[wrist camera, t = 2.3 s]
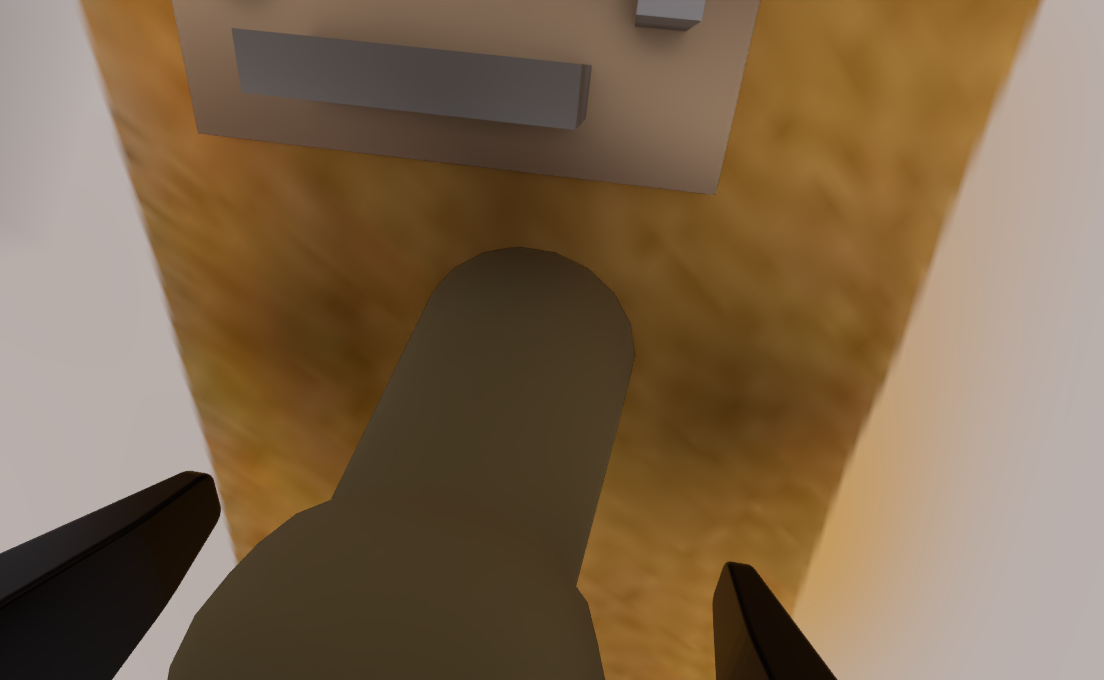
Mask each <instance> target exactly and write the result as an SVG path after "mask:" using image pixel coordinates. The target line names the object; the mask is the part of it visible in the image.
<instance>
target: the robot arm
mask: <svg viewBox="0 0 1104 680" xmlns="http://www.w3.org/2000/svg"><path fill="white" fill-rule="evenodd" d="M220 513H221V506H220V502H219V498H218V494H217V491H216V487H215V483H214V480H213V478H212V476H211V475H209V474H206V473H201V472H194V471H185V472H182V473H179V474H177V475H175V476H173V477H171V478H168V479H166V480H164V481H162V482H159V483H157V484H155V485H152V486H150V487H148V488H146V489H144V490H141V491H139V492H137V493H135V494H132V495H130V496H128V497H126V498H123V499H121V500H119V501H117V502H115V503H112V504H110V505H108V506H106V507H103V508H101V509H99V510H97V511H94V512H92V513H90V514H88V515H86V516H83V517H81V518H79V519H76V520H74V521H72V522H70V523H67V524H65V525H63V526H61V527H59V528H56V529H54V530H52V531H50V532H47V533H45V534H43V535H41V536H38V537H36V538H34V539H32V540H30V541H27V542H25V543H23V544H20V545H18V546H16V547H14V548H11V549H9V550H7V551H5V552H2V553H0V680H112V679H113V678H114V676H115V675H116V674H117V672H118V671H119V669H120V668H121V667H122V665H123V664H124V663H125V661H126V660H127V659H128V657H129V656H130V654H131V653H132V651H133V650H134V649H135V648H136V646H137V645H138V644H139V642H140V641H141V640H142V638H143V637H144V635H145V634H146V633H147V631H148V630H149V629H150V627H151V626H152V624H153V623H154V622H155V620H156V619H157V618H158V616H159V615H160V613H161V612H162V611H163V609H164V608H165V606H166V605H167V603H168V602H169V600H170V598H171V597H172V595H173V594H174V593H175V591H176V590H177V588H178V586H179V585H180V583H181V581H182V580H183V578H184V576H185V575H186V573H187V571H188V570H189V568H190V567H191V565H192V563H193V562H194V560H195V558H196V557H197V555H198V553H199V552H200V550H201V548H202V547H203V545H204V543H205V542H206V540H207V538H208V537H209V535H210V534H211V532H212V530H213V529H214V527H215V525H216V524H217V522H218V519H219V517H220ZM713 627H714V646H715V666H716V680H837V678H836V677H835V676H834V674H833V673H832V672H831V670H830V669H829V668H828V666H827V665H826V664H825V662H824V661H823V660H822V658H821V657H820V656H819V654H818V653H817V652H816V650H815V649H814V648H813V647H812V645H811V644H810V642H809V641H808V640H807V638H806V637H805V636H804V634H803V633H802V632H801V631H800V629H799V628H798V626H797V625H796V623H795V622H794V621H793V619H792V618H791V617H790V615H789V614H788V613H787V611H786V610H785V609H784V607H783V606H782V605H781V603H780V602H779V601H778V599H777V598H776V597H775V595H774V594H773V593H772V591H771V590H770V589H769V587H768V586H767V585H766V583H765V582H764V581H763V579H762V578H761V577H760V575H759V574H758V573H757V571H756V570H755V569H754V568H753V567H752V566H750V565H748V564H742V563H736V562H731V561H730V562H726V563H725V565H724V566H723V569H722V572H721V575H720V578H719V581H718V583H717V586H716V589H715V592H714V596H713Z"/></svg>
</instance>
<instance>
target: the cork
mask: <svg viewBox="0 0 1104 680" xmlns="http://www.w3.org/2000/svg"><path fill="white" fill-rule="evenodd" d="M634 356H635V352H634V345H633V338H632V332H631V325H630V322H629V320H628V318H627V316H626V314H625V313H624V311H623V309H622V307H621V305H620V303H619V301H618V299H617V298H616V296H615V294H614V293H613V292H612V291H611V290H610V289H609V288H608V287H607V286H606V285H605V284H604V283H603V282H602V281H601V280H600V279H599V278H597V277H596V276H595V275H594V274H593V273H592V272H591V271H590V270H589V269H588V268H586V267H584V266H582V265H580V264H577V263H575V262H573V261H571V260H569V259H567V258H565V257H563V256H561V255H559V254H557V253H555V252H548V251H542V250H535V249H529V248H522V247H514V248H508V249H502V250H496V251H490V252H483V253H481V254H479V255H478V256H476V257H474V258H472V259H470V260H468V261H466V262H464V263H463V264H461V265H459V266H457V267H455V268H453V270H452V271H451V272H450V273H449V274H448V275H447V276H446V277H445V279H444V280H443V281H442V282H441V283H440V284H439V285H438V286H437V288H436V289H435V290H434V291H433V292H432V294H431V296H430V298H429V301H428V303H427V305H426V307H425V309H424V311H423V313H422V315H421V317H420V319H419V321H418V323H417V325H416V327H415V329H414V331H413V333H412V335H411V337H410V339H409V341H408V343H407V345H406V347H405V350H404V352H403V354H402V356H401V358H400V360H399V362H398V364H397V366H396V368H395V370H394V372H393V374H392V376H391V378H390V380H389V382H388V384H387V386H386V388H385V390H384V392H383V394H382V397H381V399H380V401H379V403H378V405H377V407H376V409H375V411H374V413H373V415H372V417H371V419H370V421H369V423H368V425H367V427H366V429H365V431H364V433H363V435H362V437H361V439H360V441H359V443H358V446H357V448H356V450H355V452H354V454H353V456H352V458H351V460H350V462H349V464H348V466H347V468H346V470H345V472H344V474H343V476H342V478H341V480H340V482H339V484H338V486H337V488H336V490H335V492H334V495H333V497H332V499H331V500H330V501H327V502H325V503H322V504H320V505H317V506H315V507H312V508H310V509H307V510H305V511H302V512H300V513H297V514H295V515H294V516H293V517H291V518H290V519H289V520H288V521H286V522H285V523H284V524H282V525H281V526H280V527H279V528H277V529H276V530H275V531H273V532H272V533H271V534H269V535H268V536H267V537H266V538H264V539H263V540H262V541H260V542H259V543H258V544H257V545H256V546H255V547H254V548H253V549H252V550H251V551H250V552H249V553H248V554H247V556H246V557H245V558H244V559H243V560H242V561H241V562H240V563H239V564H238V565H237V566H236V567H235V568H234V569H233V570H232V571H231V572H230V573H229V574H228V576H227V577H226V578H225V579H224V581H223V582H222V583H221V584H220V585H219V587H218V588H217V589H216V590H215V591H214V593H213V594H212V595H211V596H210V598H209V599H208V600H207V601H206V603H205V604H204V605H203V606H202V607H201V609H200V610H199V611H198V612H197V613H196V615H195V616H194V618H193V621H192V623H191V624H190V626H189V629H188V631H187V633H186V635H185V637H184V639H183V641H182V643H181V645H180V647H179V649H178V651H177V653H176V655H175V657H174V659H173V661H172V663H171V665H170V668H169V674H168V680H605V677H604V672H603V668H602V663H601V658H600V653H599V648H598V643H597V639H596V634H595V630H594V626H593V622H592V618H591V614H590V610H589V606H588V602H587V601H586V600H585V598H584V597H583V595H582V594H581V593H580V591H579V590H578V588H577V587H576V585H577V581H578V577H579V573H580V569H581V565H582V562H583V558H584V554H585V550H586V546H587V542H588V538H589V535H590V531H591V527H592V523H593V519H594V515H595V511H596V508H597V504H598V500H599V496H600V492H601V488H602V484H603V481H604V477H605V473H606V469H607V465H608V461H609V458H610V454H611V450H612V446H613V442H614V438H615V434H616V431H617V427H618V423H619V419H620V415H621V411H622V407H623V404H624V400H625V396H626V392H627V388H628V384H629V380H630V375H631V370H632V366H633V361H634Z"/></svg>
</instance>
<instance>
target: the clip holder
mask: <svg viewBox="0 0 1104 680" xmlns="http://www.w3.org/2000/svg"><path fill="white" fill-rule="evenodd" d="M172 4H173V9H174V14H175V19H176V24H177V29H178V34H179V39H180V44H181V49H182V54H183V59H184V64H185V69H186V74H187V79H188V84H189V89H190V94H191V99H192V104H193V109H194V114H195V119H196V124H197V129H198V133H199V134H207V135H216V136H224V137H232V138H241V139H249V140H258V141H266V142H274V143H283V144H291V145H300V146H308V147H316V148H325V149H333V150H342V151H350V152H358V153H367V154H375V155H384V156H392V157H400V158H409V159H417V160H426V161H434V162H442V163H451V164H459V165H468V166H476V167H484V168H493V169H501V170H510V171H518V172H526V173H535V174H543V175H552V176H560V177H568V178H577V179H585V180H594V181H602V182H610V183H619V184H627V185H636V186H644V187H652V188H661V189H669V190H678V191H686V192H694V193H703V194H711V195H716V191H717V187H718V182H719V178H720V173H721V169H722V165H723V160H724V156H725V152H726V147H727V143H728V139H729V134H730V130H731V126H732V121H733V117H734V113H735V108H736V104H737V99H738V95H739V91H740V86H741V82H742V78H743V73H744V69H745V65H746V60H747V56H748V52H749V47H750V43H751V39H752V34H753V30H754V25H755V21H756V17H757V12H758V8H759V4H760V0H172Z"/></svg>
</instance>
